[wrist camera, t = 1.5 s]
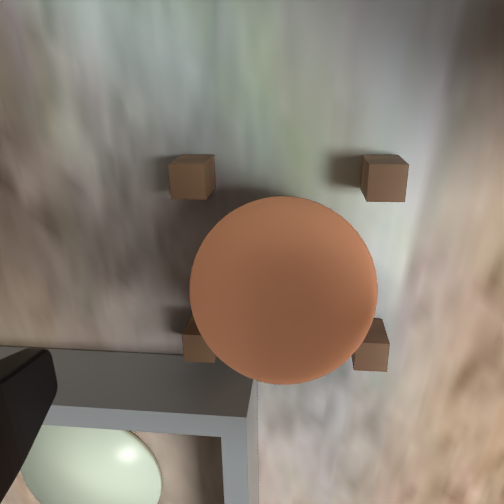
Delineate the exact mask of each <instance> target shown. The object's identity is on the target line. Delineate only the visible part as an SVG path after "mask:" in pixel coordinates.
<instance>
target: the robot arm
mask: <svg viewBox="0 0 504 504" xmlns="http://www.w3.org/2000/svg"><path fill="white" fill-rule="evenodd" d="M57 388H58V383H57V377H56V372H55V368H54V363H53V358H52V354H51V352H50V351H49V350H48V349H46V348H26V349H23V350H21V351H19V352H16V353H14V354H12V355H9V356H7V357H5V358H2V359H0V503H1V502H2V500H3V498H4V497H5V495H6V493H7V492H8V490H9V488H10V486H11V485H12V483H13V481H14V480H15V478H16V476H17V475H18V473H19V471H20V469H21V467H22V466H23V464H24V462H25V460H26V458H27V456H28V454H29V452H30V450H31V447H32V445H33V443H34V441H35V439H36V437H37V435H38V433H39V430H40V428H41V426H42V424H43V422H44V420H45V418H46V416H47V413H48V411H49V409H50V407H51V405H52V403H53V401H54V399H55V396H56V393H57Z"/></svg>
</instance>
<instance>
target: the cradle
mask: <svg viewBox="0 0 504 504" xmlns="http://www.w3.org/2000/svg"><path fill="white" fill-rule="evenodd" d="M408 168H409V164H408V163H407V162H406V161H404V160H403V159H402V158H401V157H400V156H399V155H363V161H362V175H361V191H362V193H363V195H364V197H365V199H366V201H367V202H405V196H406V187H407V177H408ZM168 170H169V182H170V194H171V199H196V200H206V199H207V197H208V196H209V195H210V194H211V192H212V191H213V190H214V189H215V187H216V184H215V162H214V155H180V156H179V157H177V158H176V159H174V160H173V161H171V162H170V163H168ZM182 339H183V351H184V361H187V362H207V363H215V360H216V357H217V356H216V355H215V354H214V353H213V352H212V350H211V349H210V348H209V347H208V345H207V344H206V342H205V340H204V339H203V337H202V336H201V334H200V332H199V330H198V328H197V325H196V323H195V320H194V316H193V313H192V315H191V317H190V319H189V321H188V323H187V325H186V327H185V330H184V332H183V334H182ZM389 346H390V343H389V340H388V337H387V333H386V330H385V327H384V324H383V320H382V319H373V321H372V324H371V327H370V329H369V331H368V333H367V335H366V337H365V339H364V340H363V342H362V343H361V345H360V346H359V348H358V349H357V350H356V351H355V352H354V353H353V354H352V362H353V368H354V370H362V371H382V372H387V365H388V356H389Z"/></svg>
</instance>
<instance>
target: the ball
mask: <svg viewBox="0 0 504 504" xmlns="http://www.w3.org/2000/svg"><path fill="white" fill-rule="evenodd" d="M377 294H378V285H377V278H376V271H375V267H374V264H373V260H372V257H371V255H370V253H369V251H368V248H367V246H366V245H365V243H364V241H363V240H362V238H361V237H360V235H359V234H358V232H357V231H356V230H355V229H354V228H353V227H352V225H351V224H349V223H348V222H347V221H346V220H345V219H344V218H343V217H342V216H340V215H339V214H337V213H336V212H334V211H333V210H331V209H330V208H328V207H326V206H324V205H322V204H320V203H317V202H314V201H311V200H308V199H304V198H299V197H290V196H276V197H268V198H262V199H259V200H255V201H252V202H249V203H247V204H245V205H243V206H241V207H239V208H236V209H235V210H233V211H232V212H230V213H229V214H227V215H226V216H225V217H224V218H223V219H221V220H220V221H219V222H218V223H217V224H216V225H215V226H214V228H213V229H212V230H211V231H210V232H209V233H208V234H207V236H206V238H205V239H204V241H203V242H202V244H201V246H200V248H199V250H198V252H197V255H196V257H195V260H194V263H193V267H192V271H191V277H190V302H191V309H192V313H193V316H194V320H195V323H196V325H197V328H198V330H199V332H200V334H201V336H202V337H203V339H204V340H205V342H206V344H207V345H208V347H209V348H210V349H211V350H212V352H213V353H214V354H215V355H216V356H217V357H218V358H219V359H220V360H221V361H223V362H224V363H225V364H226V365H228V366H229V367H230V368H232V369H233V370H235V371H237V372H238V373H240V374H242V375H244V376H246V377H248V378H251V379H254V380H257V381H261V382H265V383H270V384H298V383H303V382H307V381H311V380H314V379H317V378H319V377H322V376H324V375H326V374H328V373H330V372H332V371H333V370H335V369H336V368H338V367H339V366H341V365H342V364H343V363H344V362H345V361H347V360H348V359H349V358H350V357H351V356H352V354H353V353H354V352H355V351H356V350H357V349H358V348H359V346H360V345H361V343H362V342H363V340H364V339H365V337H366V335H367V333H368V331H369V329H370V327H371V324H372V321H373V318H374V315H375V310H376V304H377Z"/></svg>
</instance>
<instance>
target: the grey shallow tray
mask: <svg viewBox="0 0 504 504" xmlns="http://www.w3.org/2000/svg"><path fill="white" fill-rule="evenodd" d="M26 348H27V347H7V346H0V359H2V358H5V357H7V356H9V355H12V354H14V353H16V352H19V351H21V350H23V349H26ZM46 349H47V348H46ZM48 350H49V351H50V352H51V354H52V358H53V363H54V368H55V372H56V377H57V383H58V388H57V393H56V396H55V399H54V401H53V403H52V405H51V407H50V409H49V411H48V413H47V416H46V418H45V420H44V422H43V424H42V426H41V428H40V430H39V433H38V435H37V437H36V439H35V441H34V443H33V445H32V447H31V450H30V452H29V454H28V456H27V458H26V460H25V462H24V464H23V466H22V467H21V473H22V476H23V479H24V481H25V483H26V485H27V487H28V488H29V490H30V491H31V493H32V494H33V495H34V497H35V498H36V499H37V500H38V501H39V502H40V503H41V504H157V503H158V500H159V497H160V494H161V490H162V474H161V470H160V467H159V464H158V462H157V460H156V458H155V456H154V455H153V453H152V452H151V451H150V449H149V448H148V447H147V446H146V445H145V443H144V442H143V441H142V440H140V439H139V438H138V437H137V436H136V435H134V434H133V433H132V432H130V431H140V432H155V433H169V434H184V435H198V436H213V437H221V448H222V467H223V486H224V504H259V471H258V405H257V380H254V379H251V378H248V377H246V376H244V375H242V374H240V373H238V372H237V371H235V370H233V369H232V368H230V367H229V366H228V365H226V364H225V363H224V362H223V361H221V360H220V359H219V358H218V357H216V360H215V363H207V362H187V361H184V355H167V354H147V353H127V352H107V351H87V350H67V349H48Z"/></svg>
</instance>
